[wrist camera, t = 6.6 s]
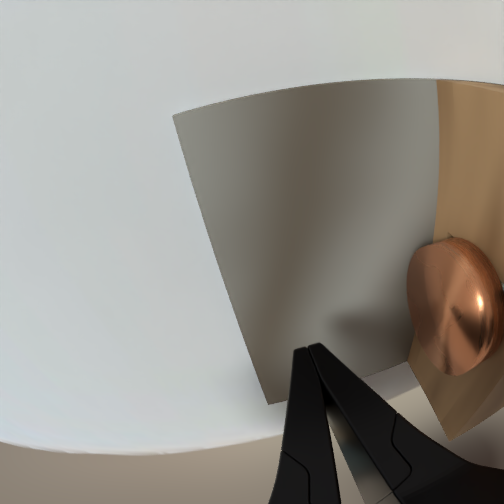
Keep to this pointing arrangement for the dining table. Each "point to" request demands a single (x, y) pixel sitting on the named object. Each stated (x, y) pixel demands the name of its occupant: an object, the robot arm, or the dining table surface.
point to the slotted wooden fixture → (350, 220)
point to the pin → (455, 304)
